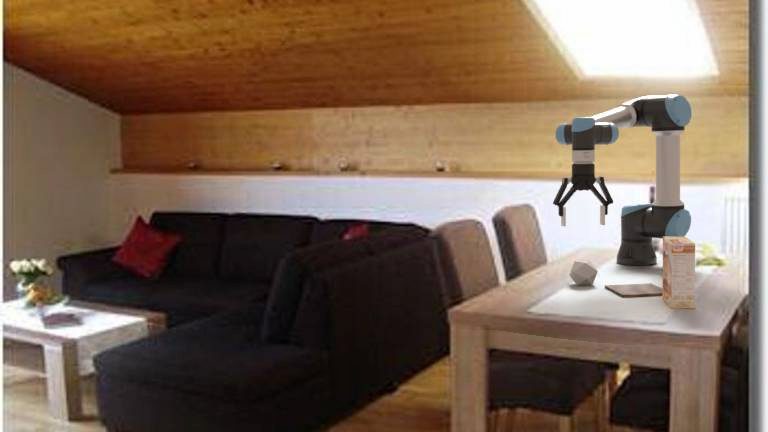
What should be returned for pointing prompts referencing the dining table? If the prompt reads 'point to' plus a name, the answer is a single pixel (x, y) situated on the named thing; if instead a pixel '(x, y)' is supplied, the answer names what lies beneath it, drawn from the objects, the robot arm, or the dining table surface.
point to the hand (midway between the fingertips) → (583, 225)
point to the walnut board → (635, 290)
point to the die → (583, 273)
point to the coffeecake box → (678, 272)
